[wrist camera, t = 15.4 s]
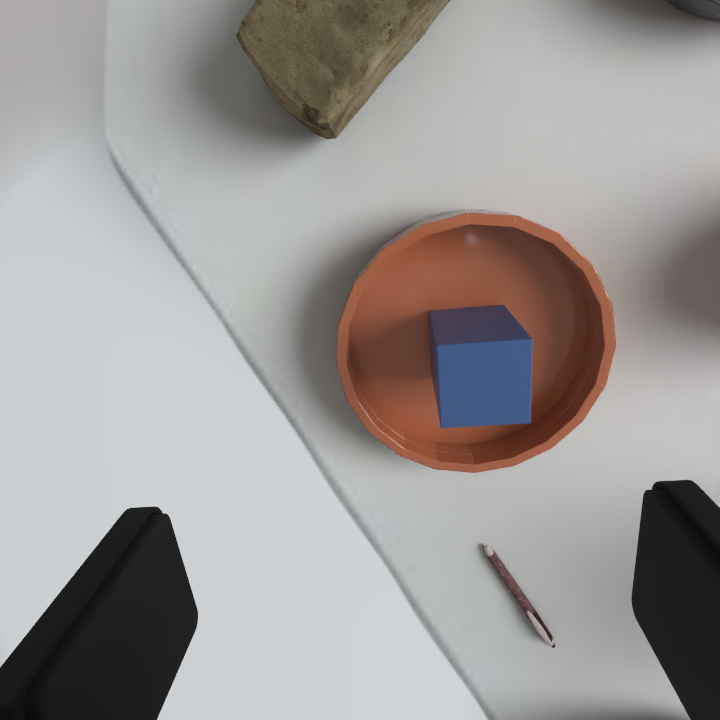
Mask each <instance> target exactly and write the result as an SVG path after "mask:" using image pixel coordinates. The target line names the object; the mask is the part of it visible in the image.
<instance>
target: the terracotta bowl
mask: <svg viewBox="0 0 720 720" xmlns="http://www.w3.org/2000/svg"><path fill="white" fill-rule="evenodd" d="M494 305H505V307H506V308H507V309H508V310H509V311H510V313H511V314H512V315H513V316H514V317H515V319H516V320H517V321H518V322H519V323H520V325H521V326H522V327H523V328H524V329H525V331H526V332H527V333H528V334H529V335H530V337H531V338H532V339H533V345H532V390H531V423H528V424H509V425H491V426H472V427H453V428H441V427H440V421H439V415H438V410H437V404H436V398H435V392H434V386H433V380H432V366H431V347H430V329H429V311H430V310H443V309H456V308H469V307H481V306H494ZM615 347H616V340H615V329H614V318H613V307H612V303H611V300H610V298H609V296H608V294H607V292H606V290H605V288H604V286H603V284H602V282H601V280H600V278H599V276H598V273H597V271H596V269H595V267H594V265H592V263H591V262H590V261H589V260H588V259H587V258H586V257H585V256H584V255H583V254H582V253H580V252H579V251H578V250H577V249H576V248H575V247H574V246H573V245H572V244H571V243H570V242H569V241H568V240H567V239H565V238H564V237H563V236H562V235H561V234H559V233H558V232H555V231H553V230H551V229H548V228H546V227H543V226H541V225H539V224H536V223H534V222H532V221H529V220H527V219H524V218H522V217H520V216H517V215H514V214H511V213H507V212H493V211H483V210H460V211H456V212H451V213H445V214H441V215H438V216H435V217H432V218H428V219H426V220H422V221H419V222H418V223H416V224H414V225H412V226H410V227H409V228H407V229H406V230H404V231H402V232H401V233H399V234H397V235H396V236H395V237H393V238H392V239H391V240H389V241H388V242H386V243H385V244H384V245H382V247H381V248H380V249H379V250H378V252H377V253H376V254H375V255H374V256H373V257H372V258H371V259H370V260H369V262H368V263H367V265H366V266H365V267H364V268H363V270H362V271H361V272H360V273H359V275H358V276H357V278H356V280H355V282H354V284H353V287H352V290H351V292H350V295H349V297H348V300H347V302H346V305H345V308H344V310H343V313H342V315H341V318H340V320H339V324H338V336H337V360H336V364H337V368H338V372H339V375H340V378H341V382H342V385H343V388H344V392H345V395H346V399H347V401H348V403H349V404H350V406H351V407H352V409H353V410H354V412H355V413H356V414H357V416H358V417H359V419H360V420H361V422H362V423H363V424H364V426H365V427H366V429H367V430H368V432H370V433H371V434H372V435H373V436H374V437H376V438H377V439H378V440H380V441H381V442H382V443H384V444H385V445H386V446H388V447H389V448H390V449H391V450H393V451H394V452H395V453H397V454H398V455H400V456H402V457H404V458H407V459H410V460H412V461H415V462H417V463H420V464H423V465H425V466H428V467H431V468H433V469H438V470H449V471H460V472H472V473H474V472H475V473H477V472H482V471H488V470H494V469H499V468H505V467H511V466H514V465H517V464H519V463H521V462H524V461H526V460H528V459H530V458H532V457H534V456H536V455H538V454H541V453H543V452H545V451H547V450H549V449H551V448H553V447H554V446H555V445H556V444H557V443H558V442H560V441H561V440H562V439H563V438H564V437H565V436H567V435H568V434H569V433H570V432H571V431H572V430H574V429H575V428H576V427H577V426H578V425H579V424H580V423H582V422H583V420H584V419H585V417H586V416H587V414H588V413H589V411H590V409H591V408H592V406H593V405H594V403H595V402H596V400H597V398H598V397H599V395H600V394H601V392H602V391H603V389H604V387H605V386H606V382H607V379H608V375H609V371H610V367H611V363H612V359H613V355H614V351H615Z"/></svg>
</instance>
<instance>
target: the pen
mask: <svg viewBox="0 0 720 720" xmlns="http://www.w3.org/2000/svg"><path fill="white" fill-rule="evenodd" d="M484 550H485V553H486V556H487V557H488V559H489V560H490V562H491V563H492V565H493V566H494V568H495V569H496V571H497V572H498V574H499V575H500V577H501V578H502V580H503V581H504V583H505V584H506V586H507V587H508V589H509V590H510V592H511V593H512V595H513V596H514V598H515V599H516V601H517V602H518V604H519V605H520V607H521V608H522V610H523V611H524V613H525V614H526V616H527V617H528V619H529V620H530V621H531V623H532V624H533V625H534V627H535V628H536V630H537V631H538V633H539V634H540V635H541V637H542V638H543V639H544V641H545V642H546V643H547V644H548V645H549V646H551V647H553V648H554V647H555V644H554V639H553V637H552V635H551V634H550V632H549V631H548V629H547V628H546V626H545V625H544V623H543V621H542V620H541V618H540V617H539V615H538V614H537V612H536V611H535V609H534V608H533V606H532V605H531V603H530V602H529V600H528V599H527V598H526V596H525V595H524V593H523V592H522V590H521V589H520V588H519V586H518V585H517V583H516V582H515V580H514V579H513V578H512V576H511V575H510V573H509V572H508V570H507V569H506V568H505V566H504V565H503V563H502V562H501V560H500V559H499V558H498V556H497V555H496V553H495V552H494V551H493V550H492V549H491V548H490V547H489V546H488V545H485V544H484Z"/></svg>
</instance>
